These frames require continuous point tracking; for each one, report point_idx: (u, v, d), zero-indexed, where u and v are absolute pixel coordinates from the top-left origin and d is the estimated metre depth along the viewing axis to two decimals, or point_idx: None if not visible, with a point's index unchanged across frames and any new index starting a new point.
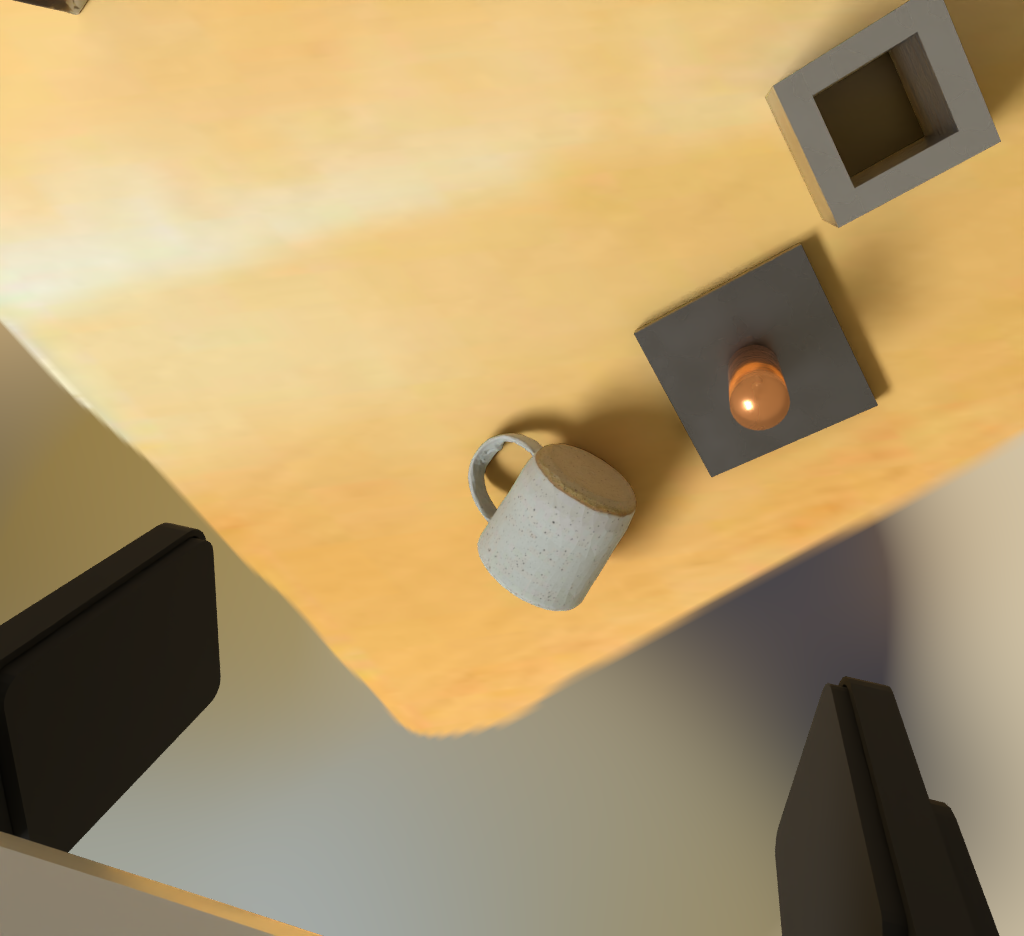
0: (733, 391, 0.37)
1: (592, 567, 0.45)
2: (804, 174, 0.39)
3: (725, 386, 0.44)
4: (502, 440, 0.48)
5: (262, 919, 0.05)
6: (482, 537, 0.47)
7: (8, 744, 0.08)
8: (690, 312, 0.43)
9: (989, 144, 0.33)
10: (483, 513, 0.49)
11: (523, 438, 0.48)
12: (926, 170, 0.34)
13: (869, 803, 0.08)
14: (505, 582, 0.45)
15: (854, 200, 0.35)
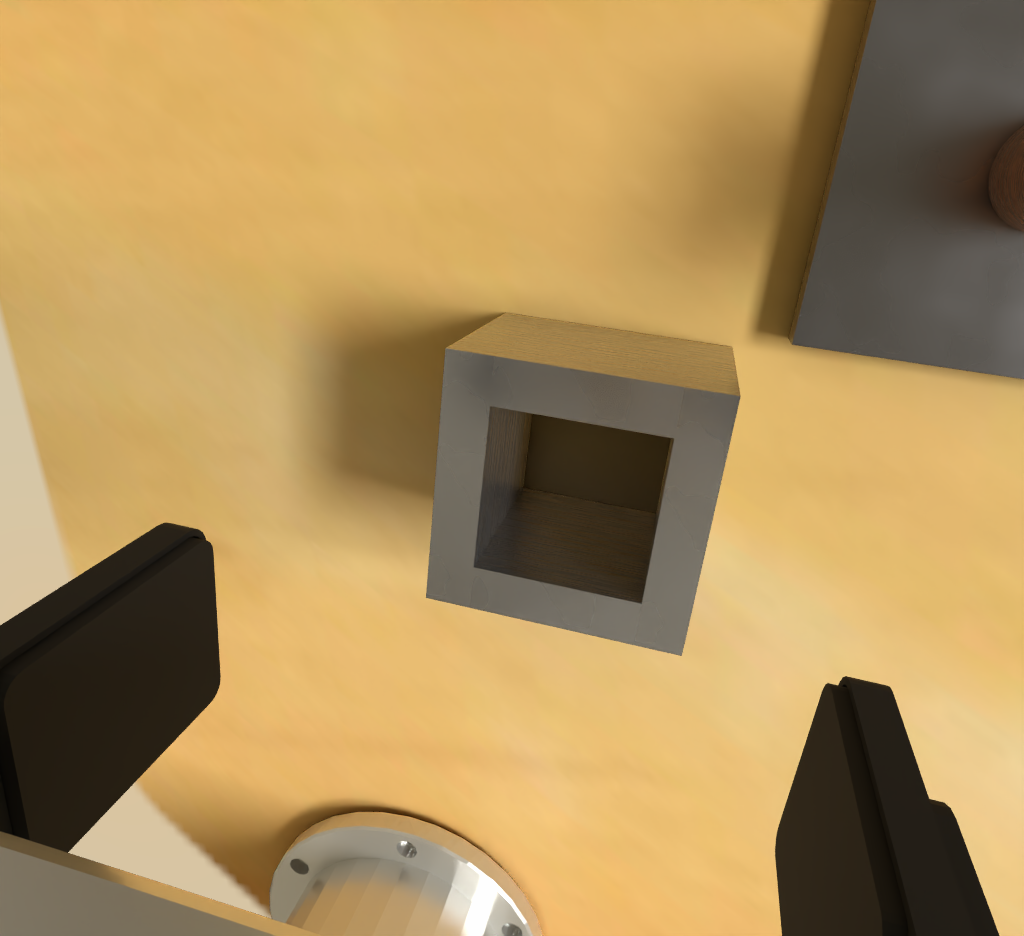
0: None
1: None
2: None
3: None
4: None
5: (261, 919, 0.05)
6: None
7: (8, 744, 0.08)
8: None
9: (461, 355, 0.18)
10: None
11: None
12: (560, 384, 0.18)
13: (869, 803, 0.08)
14: None
15: (686, 420, 0.18)
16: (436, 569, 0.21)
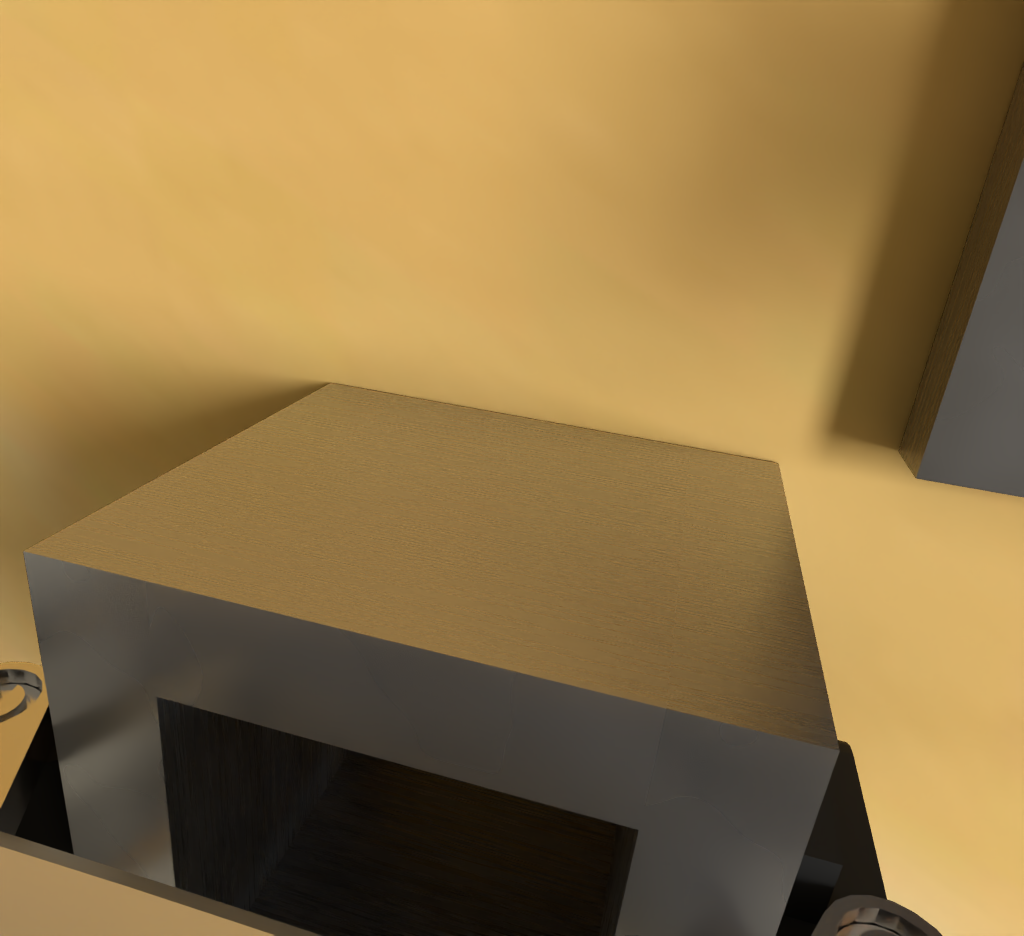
0: None
1: None
2: None
3: None
4: None
5: (262, 919, 0.05)
6: None
7: None
8: None
9: (64, 572, 0.07)
10: None
11: None
12: (320, 664, 0.06)
13: None
14: None
15: (674, 792, 0.06)
16: None
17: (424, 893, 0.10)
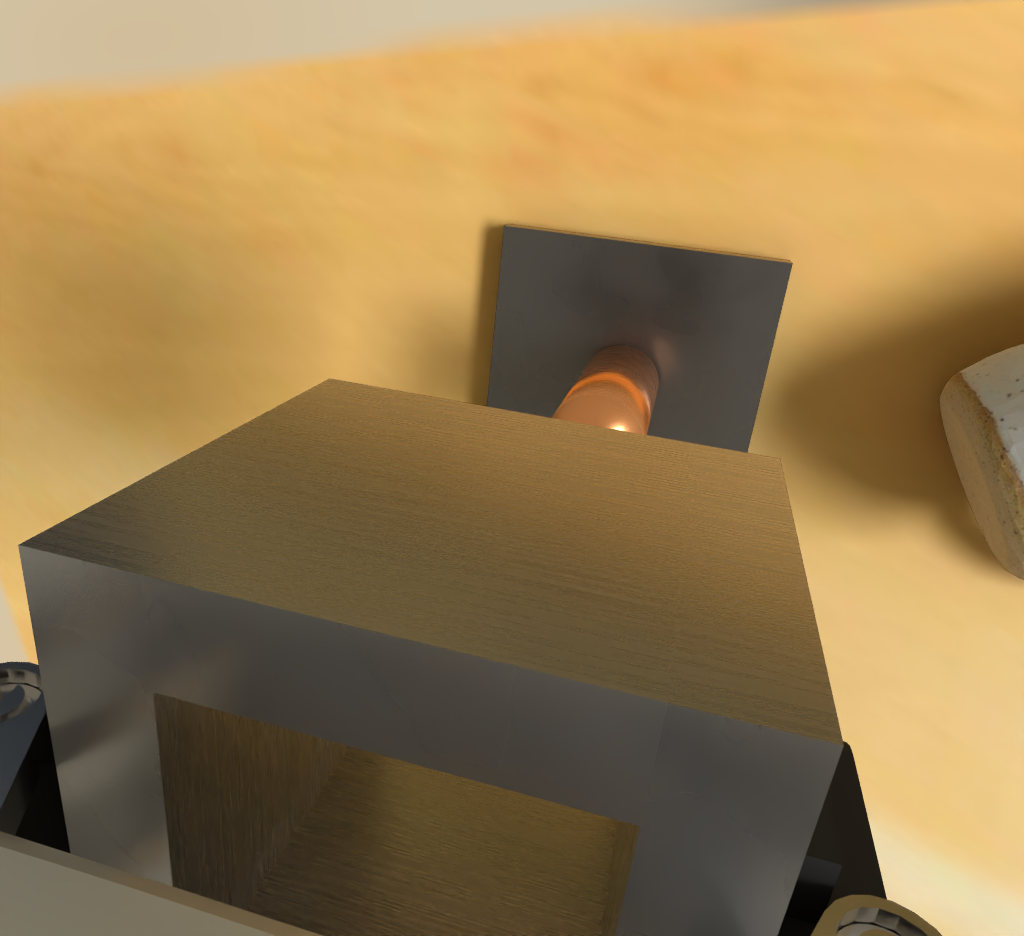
0: None
1: None
2: None
3: (670, 384, 0.28)
4: None
5: (262, 919, 0.05)
6: None
7: None
8: None
9: (60, 566, 0.07)
10: None
11: None
12: (318, 660, 0.06)
13: None
14: None
15: (676, 787, 0.06)
16: None
17: (423, 891, 0.10)
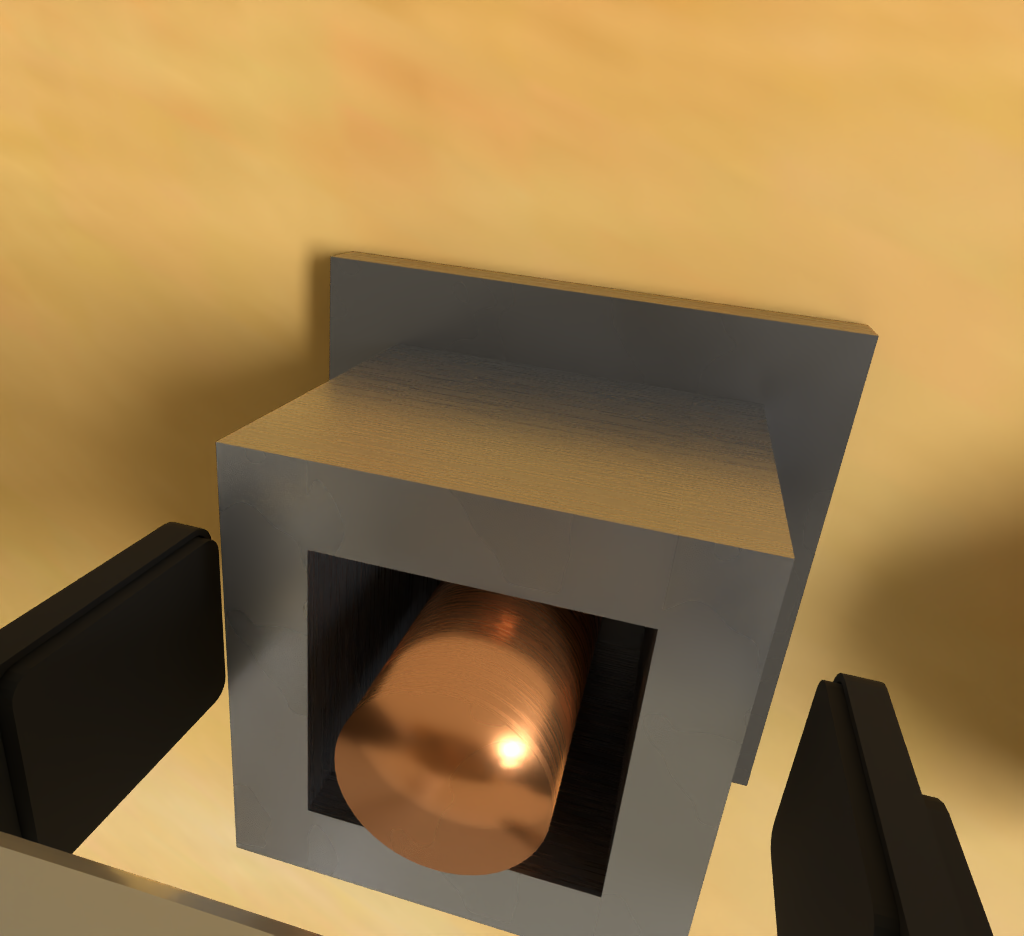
0: (498, 866, 0.10)
1: None
2: None
3: None
4: None
5: (262, 919, 0.05)
6: None
7: (16, 742, 0.08)
8: None
9: (246, 456, 0.09)
10: None
11: None
12: (434, 517, 0.09)
13: (862, 798, 0.08)
14: None
15: (683, 598, 0.09)
16: (247, 807, 0.12)
17: None
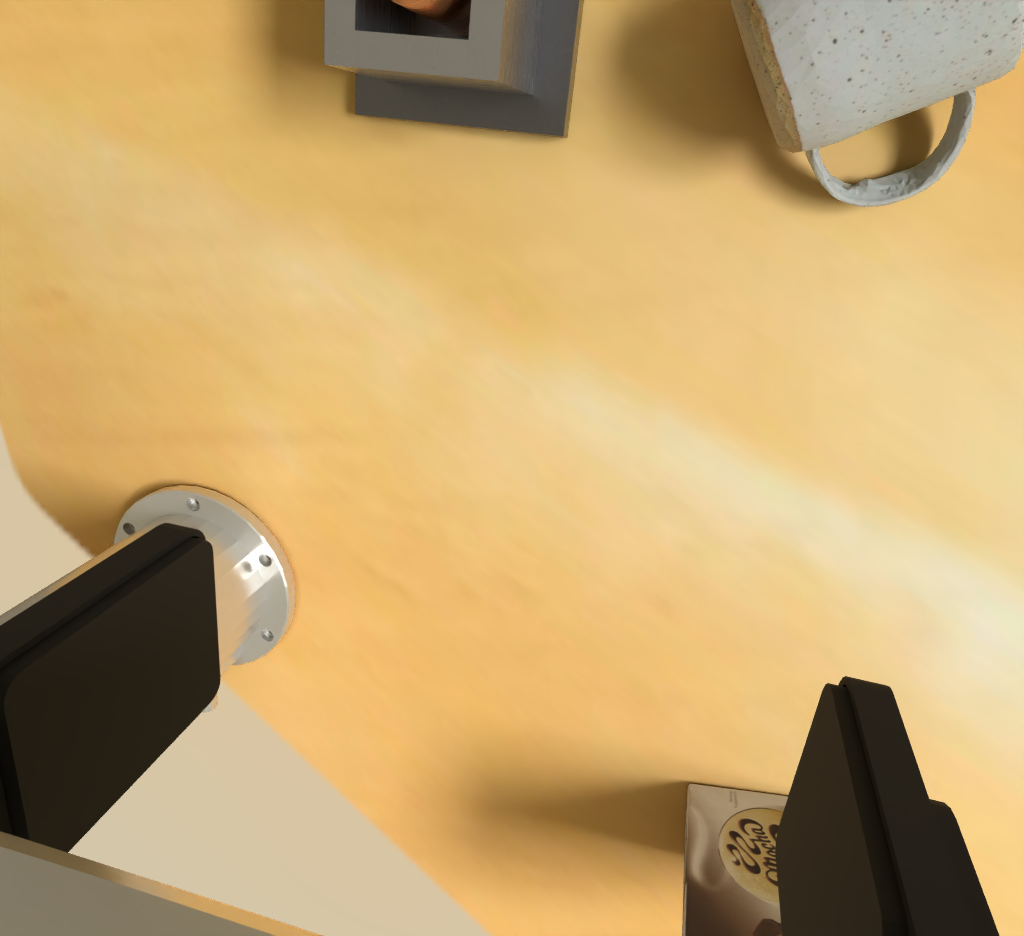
0: None
1: None
2: None
3: None
4: (846, 192, 0.31)
5: (262, 919, 0.05)
6: (991, 75, 0.26)
7: (8, 744, 0.08)
8: (491, 117, 0.34)
9: None
10: (970, 106, 0.28)
11: (816, 176, 0.31)
12: None
13: (869, 803, 0.08)
14: None
15: None
16: (329, 37, 0.29)
17: None
